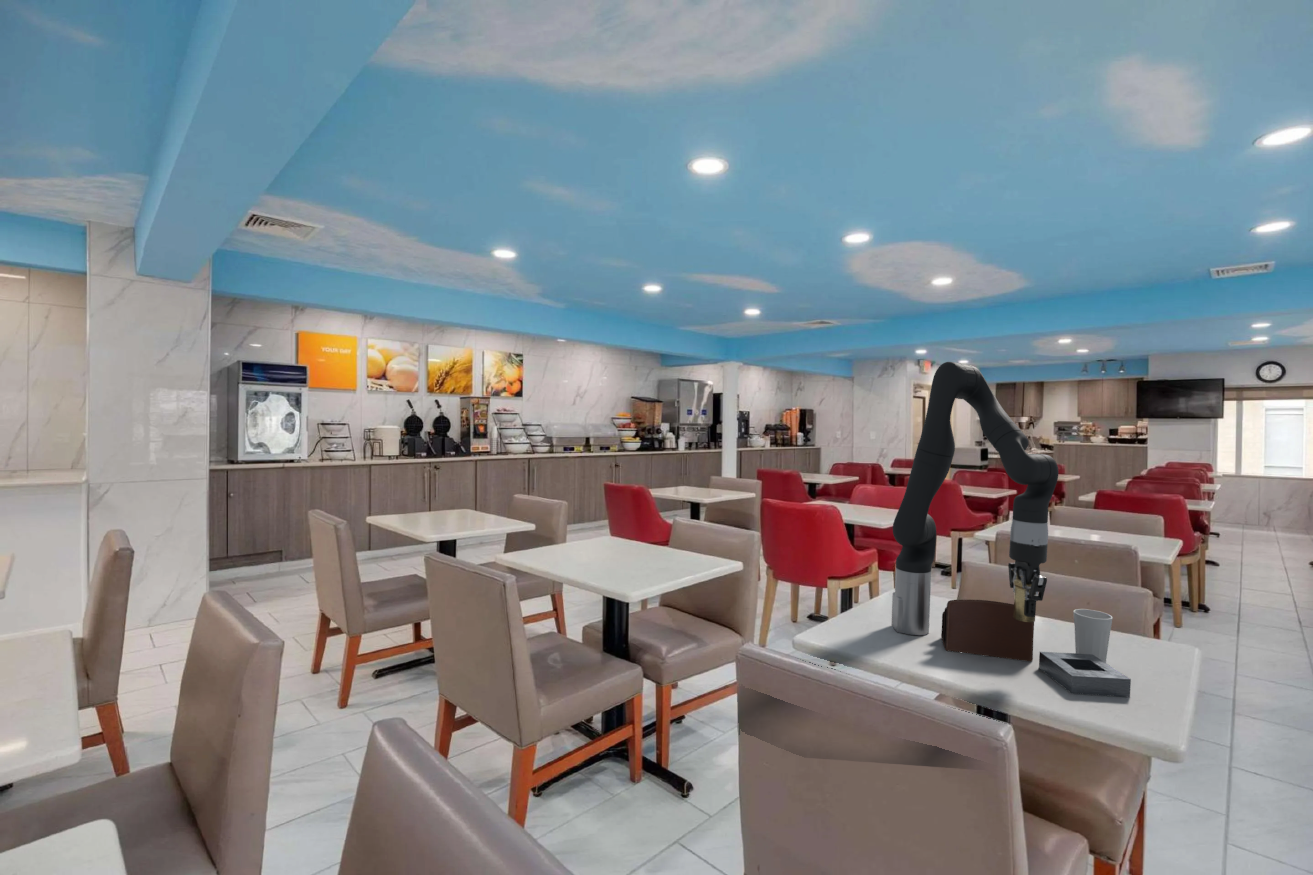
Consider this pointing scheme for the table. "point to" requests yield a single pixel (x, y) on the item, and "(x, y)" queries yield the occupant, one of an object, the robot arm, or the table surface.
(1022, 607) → the fitting
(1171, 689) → the table surface
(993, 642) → the letter holder
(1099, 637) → the cup
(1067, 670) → the grey hollow block
